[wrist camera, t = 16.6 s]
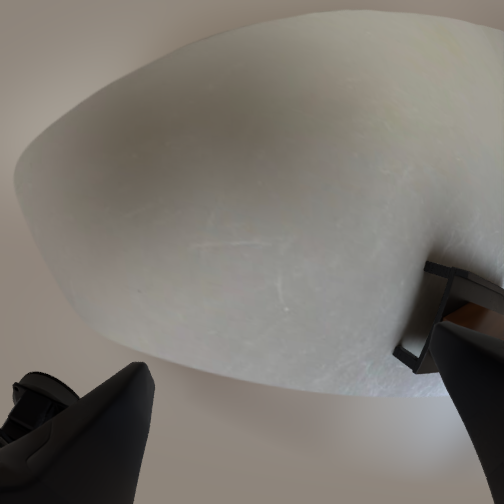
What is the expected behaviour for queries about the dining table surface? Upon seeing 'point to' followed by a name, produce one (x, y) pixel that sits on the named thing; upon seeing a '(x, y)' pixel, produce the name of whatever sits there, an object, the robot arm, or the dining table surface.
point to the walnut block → (478, 319)
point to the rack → (453, 308)
